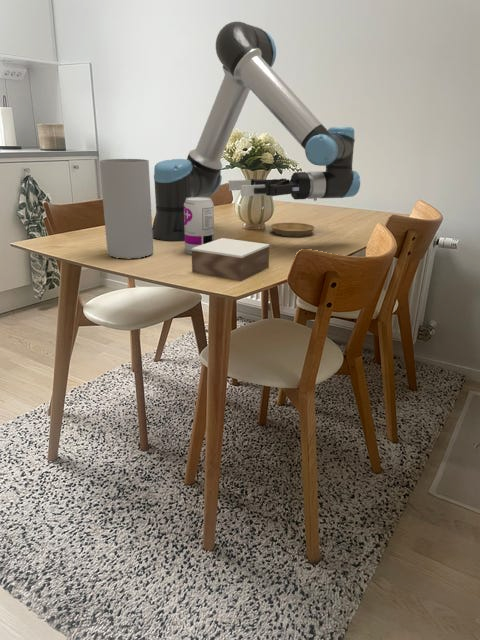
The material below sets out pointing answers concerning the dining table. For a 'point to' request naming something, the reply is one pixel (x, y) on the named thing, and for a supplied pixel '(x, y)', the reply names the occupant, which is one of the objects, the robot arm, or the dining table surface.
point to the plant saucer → (292, 229)
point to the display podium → (230, 258)
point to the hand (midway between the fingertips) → (234, 188)
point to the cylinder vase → (127, 207)
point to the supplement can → (198, 222)
